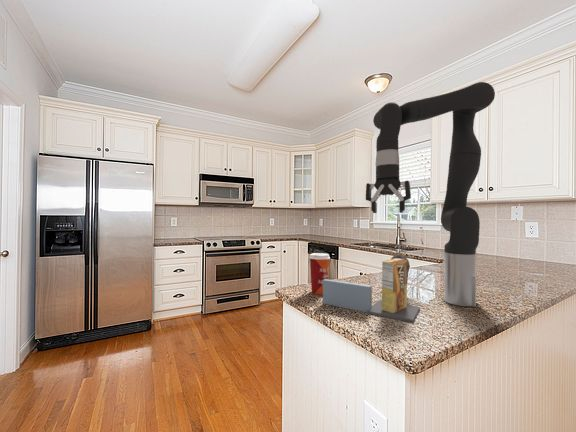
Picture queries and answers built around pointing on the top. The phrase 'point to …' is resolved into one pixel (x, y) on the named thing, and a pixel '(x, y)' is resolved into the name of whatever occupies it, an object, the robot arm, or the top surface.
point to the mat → (403, 314)
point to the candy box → (394, 285)
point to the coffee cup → (318, 271)
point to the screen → (347, 295)
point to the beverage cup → (402, 258)
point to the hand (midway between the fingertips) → (387, 212)
